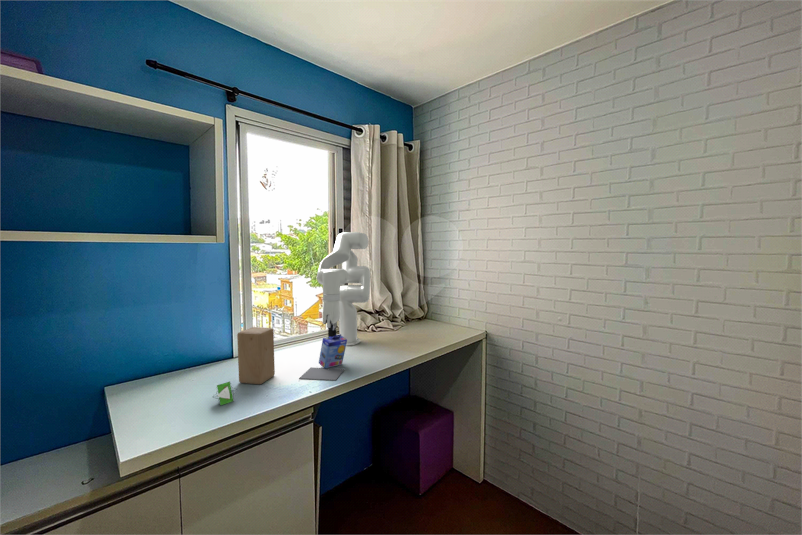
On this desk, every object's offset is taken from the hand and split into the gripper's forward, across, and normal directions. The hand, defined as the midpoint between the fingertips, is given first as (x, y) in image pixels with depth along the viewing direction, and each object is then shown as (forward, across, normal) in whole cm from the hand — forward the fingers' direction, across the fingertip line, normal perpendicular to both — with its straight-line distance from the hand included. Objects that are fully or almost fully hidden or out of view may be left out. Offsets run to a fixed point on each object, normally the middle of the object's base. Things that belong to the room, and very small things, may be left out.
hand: (332, 338), depth 152 cm
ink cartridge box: (+11, +3, 0) cm, 11 cm away
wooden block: (+12, +21, -24) cm, 34 cm away
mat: (+12, +13, 0) cm, 17 cm away
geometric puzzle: (+12, +41, -24) cm, 49 cm away
